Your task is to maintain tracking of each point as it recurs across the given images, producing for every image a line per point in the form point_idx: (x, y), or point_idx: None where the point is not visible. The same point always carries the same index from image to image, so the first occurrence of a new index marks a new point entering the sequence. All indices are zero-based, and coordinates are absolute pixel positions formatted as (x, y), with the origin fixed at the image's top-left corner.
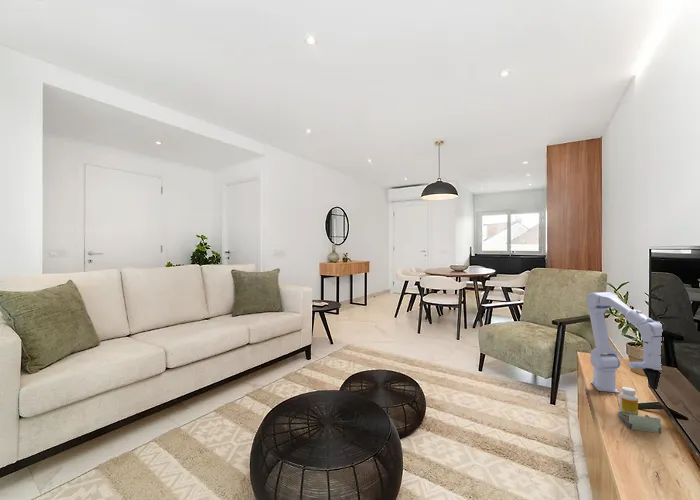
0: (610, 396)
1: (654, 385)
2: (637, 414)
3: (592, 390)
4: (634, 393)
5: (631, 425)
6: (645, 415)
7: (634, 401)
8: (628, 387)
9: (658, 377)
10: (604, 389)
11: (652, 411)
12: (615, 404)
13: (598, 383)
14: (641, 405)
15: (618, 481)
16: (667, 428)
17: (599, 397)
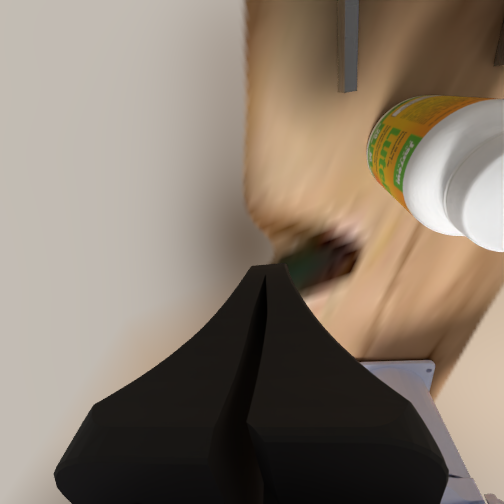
0: (402, 322)
1: (272, 280)
2: (384, 118)
3: (459, 354)
4: (486, 146)
5: None
6: (355, 89)
7: (459, 106)
8: (496, 247)
9: (215, 361)
10: (404, 370)
11: (268, 232)
12: (426, 242)
13: (432, 399)
14: (296, 278)
15: None
16: (259, 13)
17: (470, 294)
